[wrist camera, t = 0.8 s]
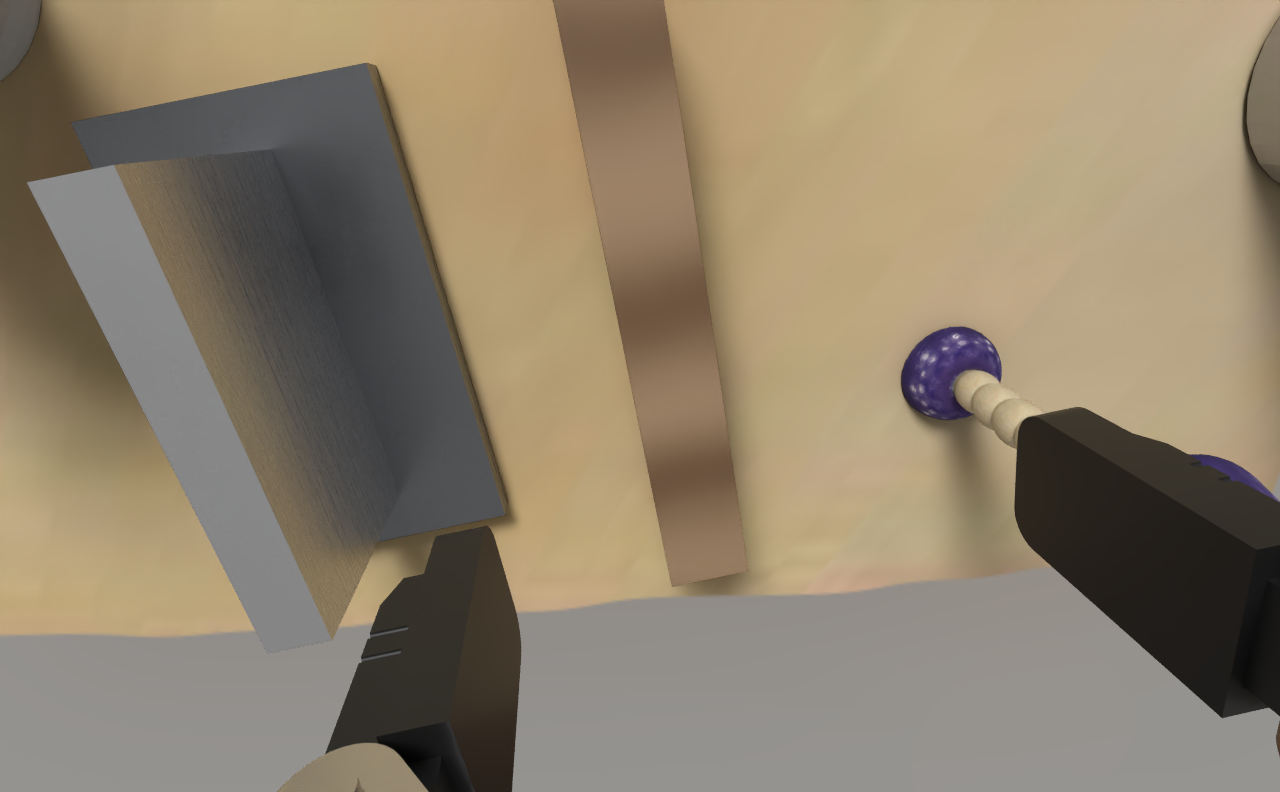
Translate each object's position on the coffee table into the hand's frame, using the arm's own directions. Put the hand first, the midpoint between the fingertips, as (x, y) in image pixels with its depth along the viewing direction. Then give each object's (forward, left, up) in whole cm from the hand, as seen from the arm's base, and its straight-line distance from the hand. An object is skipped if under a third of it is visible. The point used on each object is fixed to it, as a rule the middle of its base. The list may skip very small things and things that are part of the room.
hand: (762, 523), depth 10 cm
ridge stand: (+13, 0, -19) cm, 23 cm away
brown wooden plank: (0, 0, -19) cm, 19 cm away
